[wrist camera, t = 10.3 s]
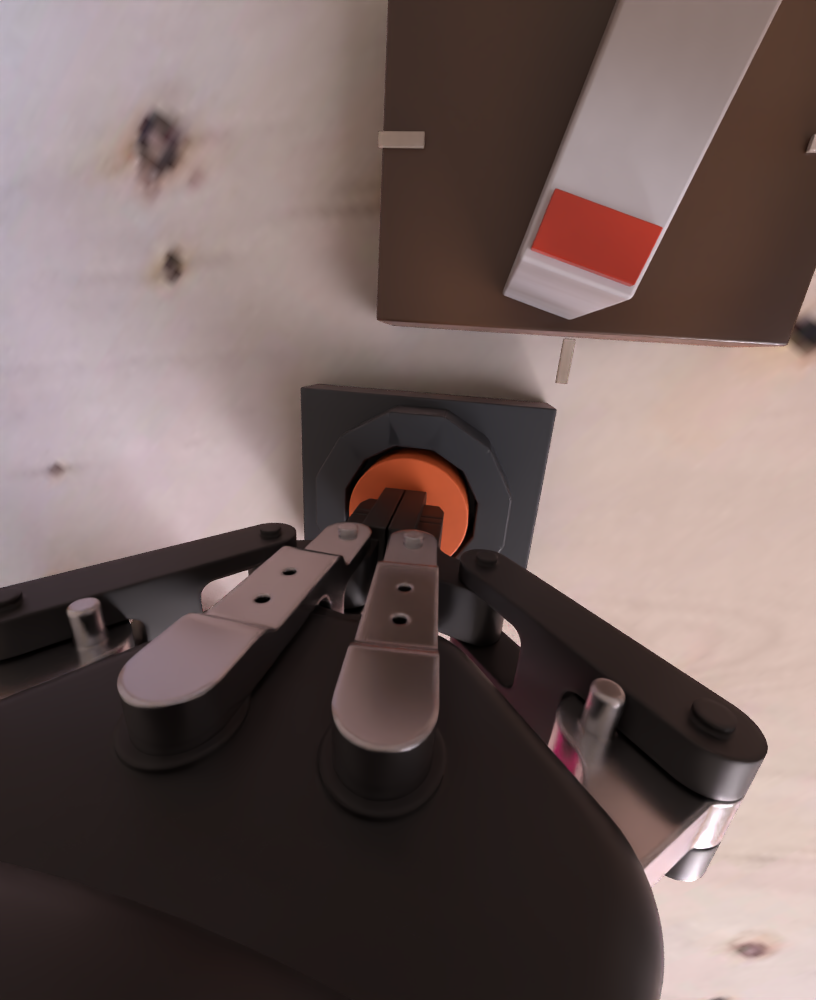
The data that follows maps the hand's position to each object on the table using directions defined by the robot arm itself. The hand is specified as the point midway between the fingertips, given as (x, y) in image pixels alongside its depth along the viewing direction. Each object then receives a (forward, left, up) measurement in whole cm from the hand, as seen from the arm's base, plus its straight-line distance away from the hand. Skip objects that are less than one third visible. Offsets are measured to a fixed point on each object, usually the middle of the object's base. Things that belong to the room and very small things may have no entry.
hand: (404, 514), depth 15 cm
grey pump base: (0, 0, -4) cm, 5 cm away
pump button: (0, 0, -2) cm, 2 cm away
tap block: (-1, -12, -4) cm, 13 cm away
